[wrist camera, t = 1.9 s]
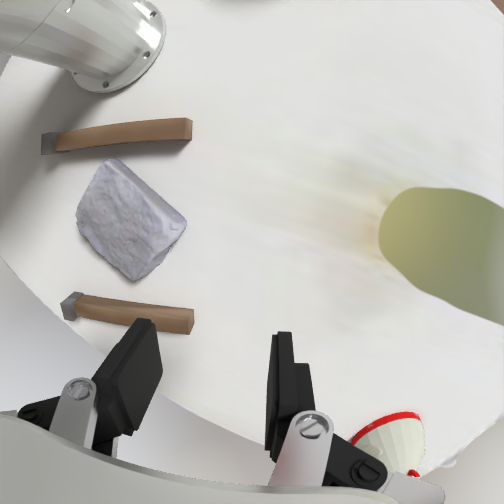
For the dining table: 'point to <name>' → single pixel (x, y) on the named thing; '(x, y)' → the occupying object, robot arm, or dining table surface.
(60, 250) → the dining table surface
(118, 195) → the stone block
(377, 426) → the white crested dome
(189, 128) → the walnut chute
